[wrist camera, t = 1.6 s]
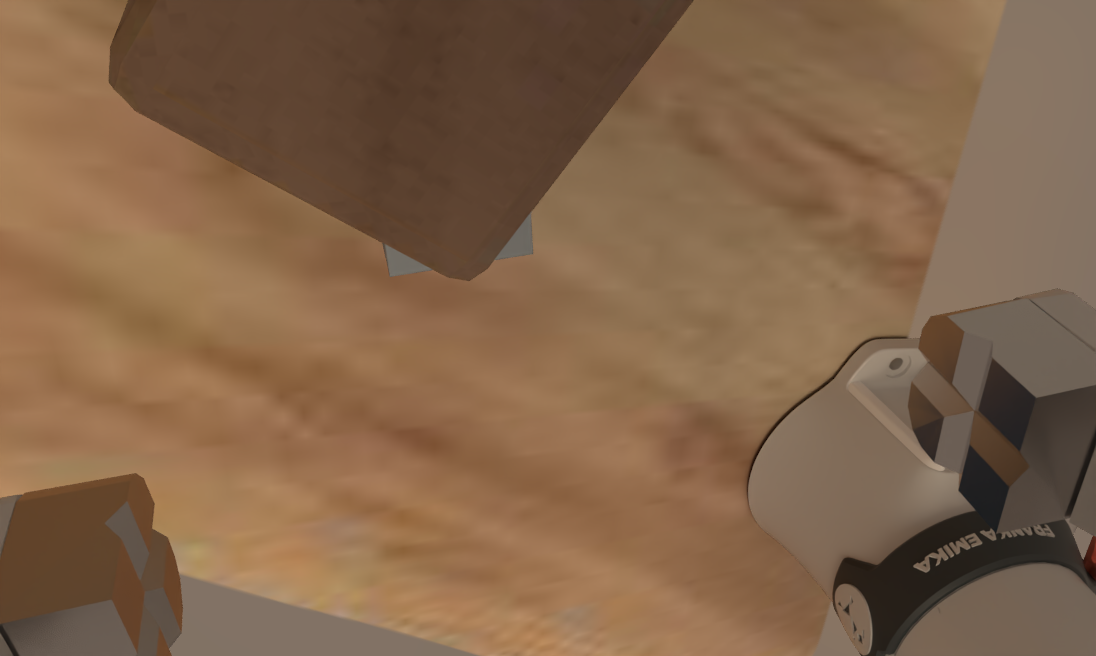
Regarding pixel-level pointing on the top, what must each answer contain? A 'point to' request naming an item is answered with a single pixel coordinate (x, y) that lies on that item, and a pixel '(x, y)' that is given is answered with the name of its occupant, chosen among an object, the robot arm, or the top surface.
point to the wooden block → (392, 102)
